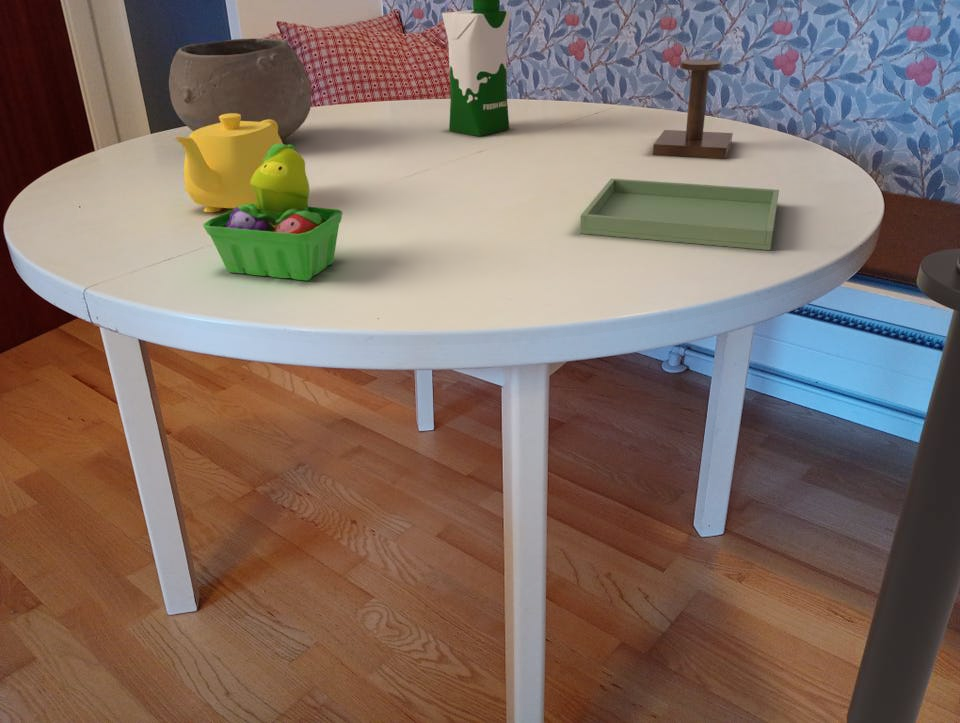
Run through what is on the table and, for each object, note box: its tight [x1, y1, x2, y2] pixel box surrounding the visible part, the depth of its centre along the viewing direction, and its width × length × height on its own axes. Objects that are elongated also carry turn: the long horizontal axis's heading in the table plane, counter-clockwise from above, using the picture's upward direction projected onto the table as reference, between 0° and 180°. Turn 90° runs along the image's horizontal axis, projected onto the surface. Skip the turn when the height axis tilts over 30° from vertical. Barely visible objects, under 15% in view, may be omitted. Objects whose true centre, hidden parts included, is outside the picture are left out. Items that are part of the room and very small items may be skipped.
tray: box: [579, 178, 780, 251], centre depth 90 cm, size 19×15×2 cm
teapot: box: [174, 113, 284, 213], centre depth 96 cm, size 18×11×11 cm, turn 159°
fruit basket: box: [202, 143, 343, 281], centre depth 78 cm, size 11×9×11 cm
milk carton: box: [441, 0, 512, 137], centre depth 130 cm, size 9×9×20 cm
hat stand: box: [652, 58, 733, 160], centre depth 117 cm, size 10×10×12 cm
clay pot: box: [168, 38, 312, 141], centre depth 126 cm, size 21×21×15 cm
